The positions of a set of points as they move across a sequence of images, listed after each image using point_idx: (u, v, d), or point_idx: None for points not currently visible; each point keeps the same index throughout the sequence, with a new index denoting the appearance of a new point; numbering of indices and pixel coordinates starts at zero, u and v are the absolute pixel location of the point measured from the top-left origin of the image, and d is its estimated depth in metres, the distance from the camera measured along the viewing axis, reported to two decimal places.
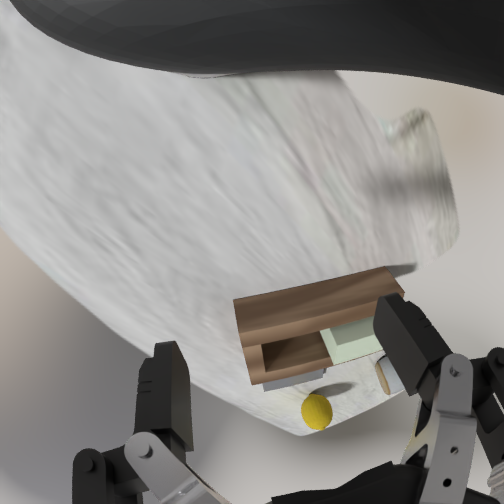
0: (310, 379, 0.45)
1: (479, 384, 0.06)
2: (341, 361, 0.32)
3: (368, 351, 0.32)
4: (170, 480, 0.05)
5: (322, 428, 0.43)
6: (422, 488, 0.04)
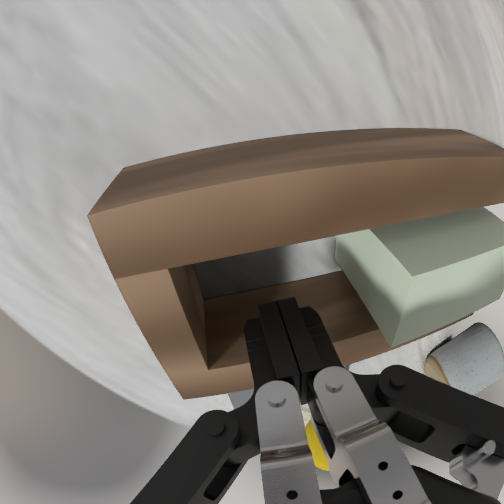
0: None
1: None
2: (410, 336, 0.11)
3: (465, 309, 0.11)
4: (284, 436, 0.06)
5: None
6: None
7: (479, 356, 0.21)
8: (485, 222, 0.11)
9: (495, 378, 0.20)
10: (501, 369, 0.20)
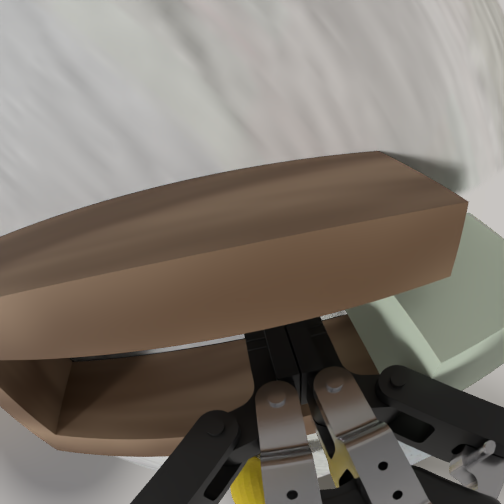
0: None
1: None
2: None
3: (487, 370, 0.08)
4: (284, 436, 0.06)
5: None
6: None
7: None
8: None
9: None
10: None
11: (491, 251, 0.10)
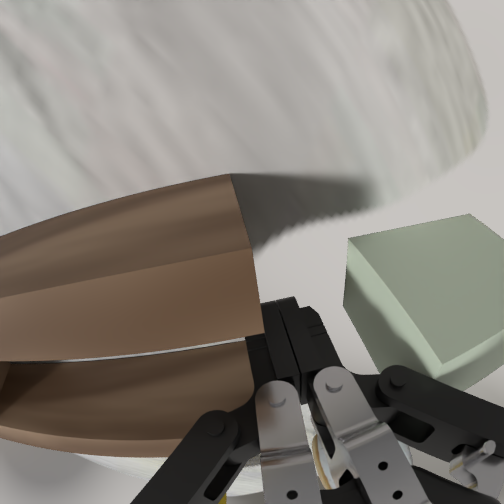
0: None
1: None
2: None
3: (488, 371, 0.08)
4: (284, 436, 0.06)
5: None
6: None
7: None
8: None
9: None
10: None
11: (491, 252, 0.10)
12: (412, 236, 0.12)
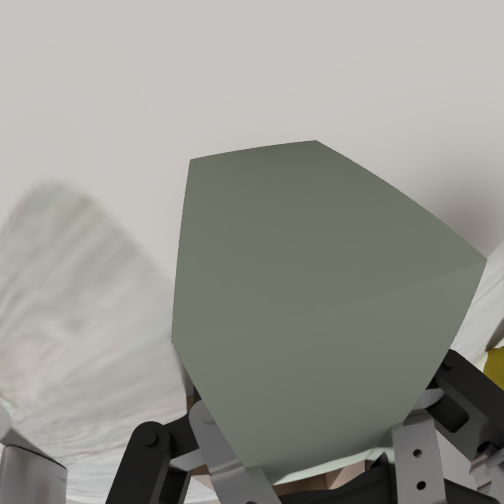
0: None
1: None
2: None
3: (397, 406, 0.05)
4: (227, 451, 0.06)
5: None
6: (396, 498, 0.04)
7: None
8: None
9: None
10: None
11: None
12: None
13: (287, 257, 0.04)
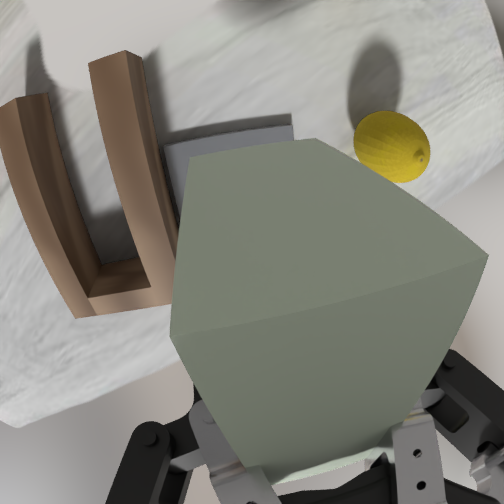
0: None
1: None
2: None
3: (399, 404, 0.05)
4: (227, 451, 0.06)
5: (416, 160, 0.17)
6: (396, 497, 0.04)
7: None
8: None
9: None
10: None
11: None
12: None
13: (288, 253, 0.04)
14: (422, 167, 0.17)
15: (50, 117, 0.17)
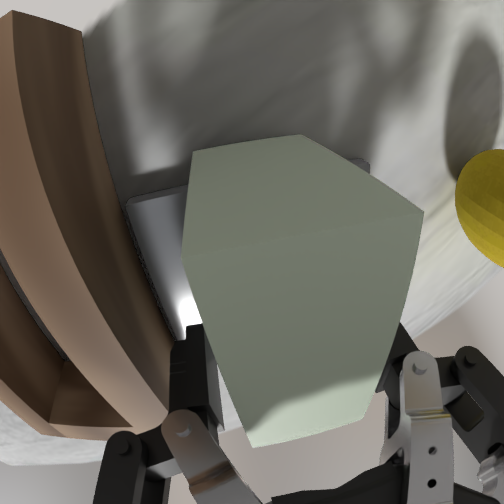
0: None
1: (446, 383, 0.07)
2: (359, 411, 0.08)
3: (370, 353, 0.06)
4: (203, 461, 0.06)
5: None
6: (406, 493, 0.04)
7: None
8: None
9: None
10: None
11: None
12: None
13: (264, 210, 0.05)
14: None
15: None
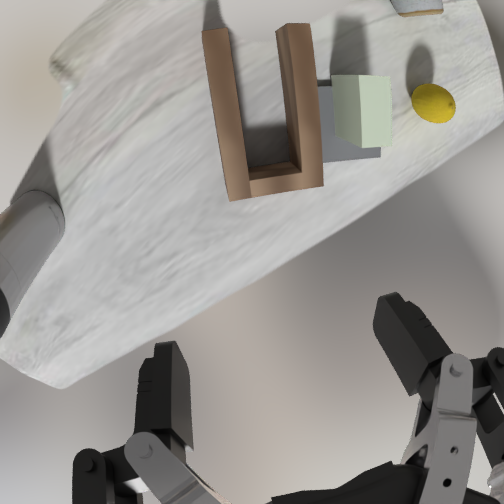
0: None
1: (479, 384, 0.06)
2: (389, 138, 0.28)
3: (387, 107, 0.26)
4: (170, 480, 0.05)
5: (450, 108, 0.26)
6: (422, 488, 0.04)
7: None
8: (350, 87, 0.26)
9: None
10: None
11: (344, 90, 0.28)
12: (337, 114, 0.32)
13: None
14: (452, 113, 0.27)
15: None
